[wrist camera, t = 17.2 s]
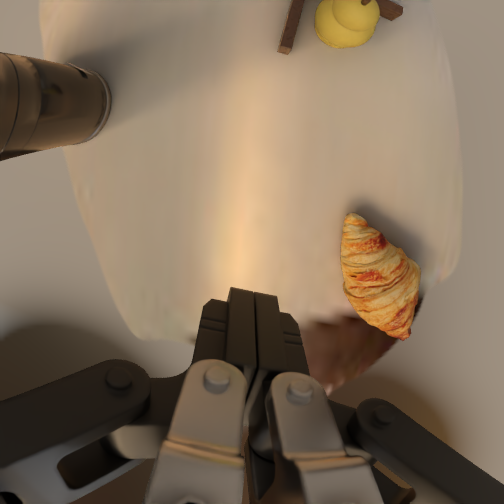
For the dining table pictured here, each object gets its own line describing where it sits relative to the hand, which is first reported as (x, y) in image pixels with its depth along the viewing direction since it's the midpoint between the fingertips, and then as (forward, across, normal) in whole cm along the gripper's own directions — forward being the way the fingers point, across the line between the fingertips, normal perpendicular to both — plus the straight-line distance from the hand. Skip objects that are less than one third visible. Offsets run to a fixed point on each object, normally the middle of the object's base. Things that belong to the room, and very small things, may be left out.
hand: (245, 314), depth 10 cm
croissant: (+27, -20, +8) cm, 35 cm away
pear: (+27, -6, -20) cm, 34 cm away
